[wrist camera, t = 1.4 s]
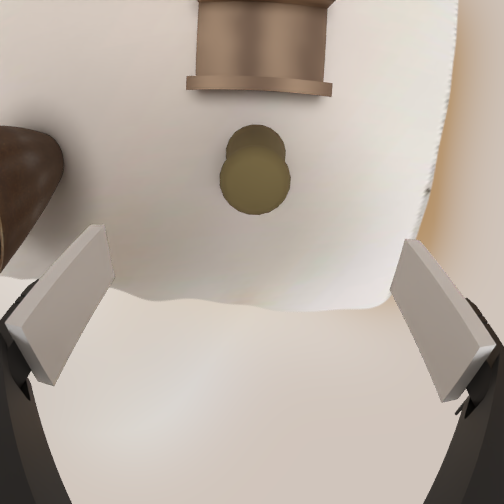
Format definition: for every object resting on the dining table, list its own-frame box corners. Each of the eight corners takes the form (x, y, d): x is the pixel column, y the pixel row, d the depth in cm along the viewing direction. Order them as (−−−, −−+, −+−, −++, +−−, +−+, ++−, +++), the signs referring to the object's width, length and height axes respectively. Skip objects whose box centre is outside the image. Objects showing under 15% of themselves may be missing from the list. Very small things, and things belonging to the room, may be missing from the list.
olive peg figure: (230, 184, 33) (218, 231, 23) (221, 128, 30) (203, 151, 20) (288, 178, 32) (301, 222, 23) (282, 121, 29) (295, 140, 20)
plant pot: (4, 101, 26) (-91, 133, 12) (95, 102, 28) (-7, 131, 14) (6, 206, 34) (-68, 267, 20) (89, 224, 35) (17, 306, 21)
